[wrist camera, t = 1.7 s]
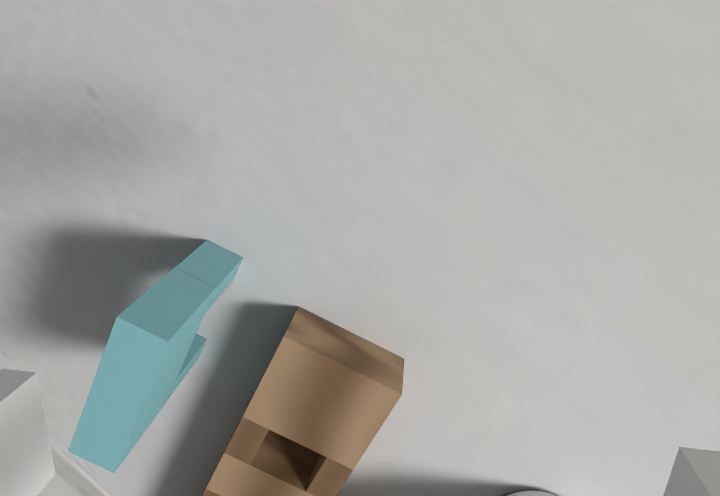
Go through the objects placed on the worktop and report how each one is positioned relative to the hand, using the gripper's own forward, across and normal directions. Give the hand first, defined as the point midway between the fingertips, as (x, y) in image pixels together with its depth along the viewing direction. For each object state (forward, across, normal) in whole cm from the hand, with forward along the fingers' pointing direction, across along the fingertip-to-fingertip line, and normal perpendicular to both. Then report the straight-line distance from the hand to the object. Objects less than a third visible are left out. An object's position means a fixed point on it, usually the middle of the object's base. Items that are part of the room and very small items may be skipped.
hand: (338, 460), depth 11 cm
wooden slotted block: (+23, -7, -21) cm, 32 cm away
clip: (+23, -12, -9) cm, 27 cm away
